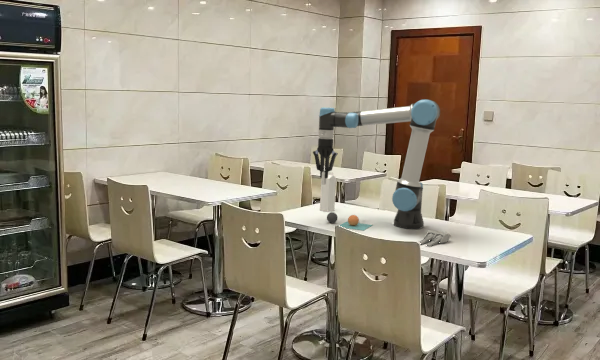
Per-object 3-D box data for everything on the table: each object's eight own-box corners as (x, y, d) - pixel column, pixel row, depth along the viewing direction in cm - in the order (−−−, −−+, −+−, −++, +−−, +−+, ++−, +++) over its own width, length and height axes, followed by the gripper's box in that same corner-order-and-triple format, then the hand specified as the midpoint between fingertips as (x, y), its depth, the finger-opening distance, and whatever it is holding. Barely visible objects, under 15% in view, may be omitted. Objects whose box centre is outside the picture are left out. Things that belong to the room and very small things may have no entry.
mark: (372, 225, 300) (372, 224, 300) (363, 230, 287) (363, 230, 287) (346, 221, 305) (346, 221, 305) (336, 226, 293) (336, 226, 293)
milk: (327, 212, 329) (329, 173, 326) (319, 210, 333) (321, 171, 330) (334, 210, 334) (336, 172, 330) (326, 209, 338) (328, 171, 335)
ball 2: (348, 219, 300) (356, 227, 299) (344, 221, 296) (352, 229, 294) (354, 211, 299) (362, 219, 297) (350, 213, 294) (358, 220, 292)
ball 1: (327, 214, 305) (332, 223, 304) (323, 215, 300) (328, 225, 300) (336, 209, 303) (340, 219, 302) (332, 211, 298) (336, 221, 297)
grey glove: (413, 248, 266) (412, 239, 264) (434, 235, 280) (434, 226, 279) (433, 253, 259) (433, 243, 258) (453, 239, 274) (453, 229, 272)
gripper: (311, 137, 297) (309, 184, 300) (335, 139, 292) (332, 186, 295) (316, 137, 304) (314, 182, 307) (340, 138, 298) (338, 184, 302)
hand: (323, 184), depth 301 cm, fingers closed
